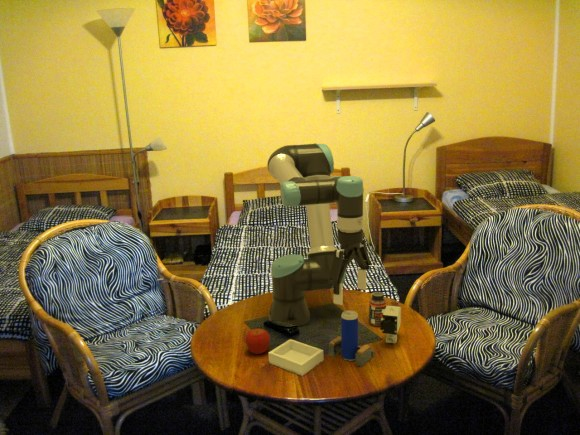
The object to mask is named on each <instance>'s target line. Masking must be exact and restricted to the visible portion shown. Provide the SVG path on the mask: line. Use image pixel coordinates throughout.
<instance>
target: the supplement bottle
mask: <svg viewBox="0 0 580 435" xmlns="http://www.w3.org/2000/svg"><path fill="white" fill-rule="evenodd" d="M384 295H385V294H384V293H383V292H381V291H373V292H372V294H371V298H370V299H369V300H368V302H369V303H368V323H369V325H371V326H373V327H380V324H381V319H382V316H383V313H382V310H383V309H386V306H387V300H386V299H385V298H384Z"/></svg>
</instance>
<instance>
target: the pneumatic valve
mask: <svg viewBox="0 0 580 435" xmlns="http://www.w3.org/2000/svg"><path fill="white" fill-rule="evenodd" d="M382 313H383V316H382V319H381V324H380V326H379V327H380V331H381V332H382V334H385V343H387V344H388V343H389V344H397V340H398V333H399V328H400V326H401V321H402V306H401V305H395V304H394V305H393V304H392V305H391V304H386V309H383V310H382Z"/></svg>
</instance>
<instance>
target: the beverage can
mask: <svg viewBox="0 0 580 435" xmlns="http://www.w3.org/2000/svg"><path fill="white" fill-rule="evenodd" d="M340 320H341V321H340V322H341V324H340V325H341V326H340V327H341V328H340V329H341V330H340V331H341V332H340V334H341V336H340V337H341V353H340V355H341V357H342V359H343V360H345V361H347V360H348V361H349V362H353V361H356V353H357V351H358V345H359V315H358V313H357V311H355V310H344V311H342V313H341V316H340Z"/></svg>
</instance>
